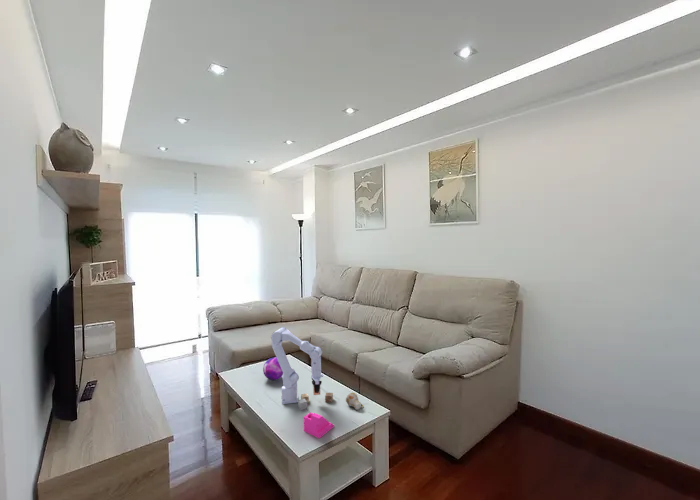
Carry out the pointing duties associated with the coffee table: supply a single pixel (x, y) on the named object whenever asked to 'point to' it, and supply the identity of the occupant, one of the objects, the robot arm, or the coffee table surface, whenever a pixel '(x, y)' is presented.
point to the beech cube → (305, 397)
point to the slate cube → (302, 404)
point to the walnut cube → (329, 397)
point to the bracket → (316, 425)
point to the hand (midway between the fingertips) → (316, 390)
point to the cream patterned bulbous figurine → (353, 401)
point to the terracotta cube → (316, 393)
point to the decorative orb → (272, 369)
